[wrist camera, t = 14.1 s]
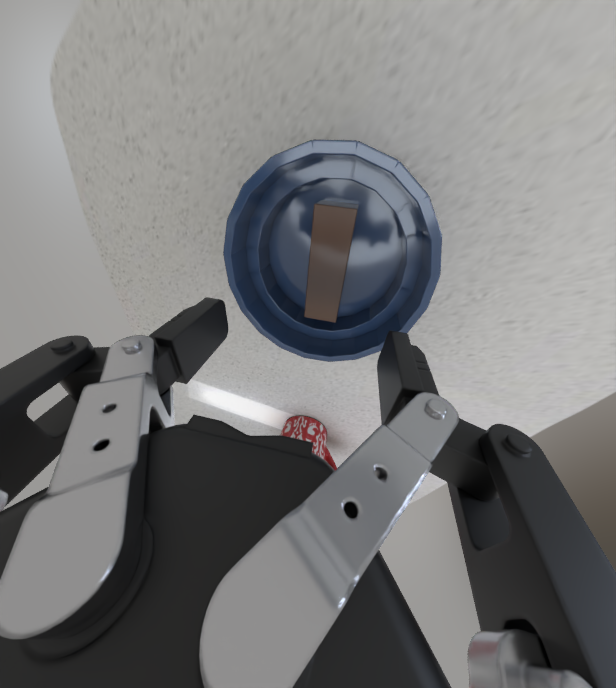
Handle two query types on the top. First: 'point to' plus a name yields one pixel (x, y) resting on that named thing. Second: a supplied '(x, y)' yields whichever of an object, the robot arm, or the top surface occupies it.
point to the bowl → (364, 258)
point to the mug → (309, 435)
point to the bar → (328, 258)
